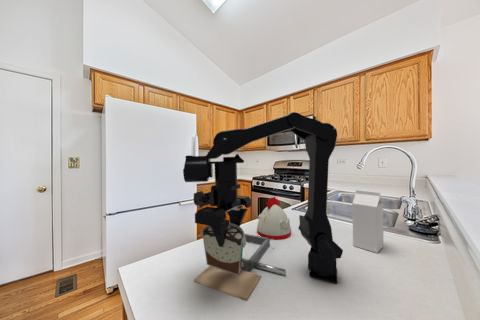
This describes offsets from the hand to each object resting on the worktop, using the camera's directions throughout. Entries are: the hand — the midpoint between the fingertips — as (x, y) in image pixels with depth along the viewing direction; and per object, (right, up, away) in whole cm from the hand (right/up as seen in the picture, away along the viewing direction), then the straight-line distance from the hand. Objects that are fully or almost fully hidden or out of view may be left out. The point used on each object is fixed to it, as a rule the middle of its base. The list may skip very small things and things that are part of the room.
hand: (227, 241), depth 48 cm
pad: (0, -10, 0) cm, 10 cm away
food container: (0, -7, +2) cm, 7 cm away
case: (+5, -10, +13) cm, 17 cm away
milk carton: (+48, -9, +16) cm, 51 cm away
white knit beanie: (+17, -10, +29) cm, 36 cm away
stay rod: (+11, -10, +4) cm, 15 cm away
